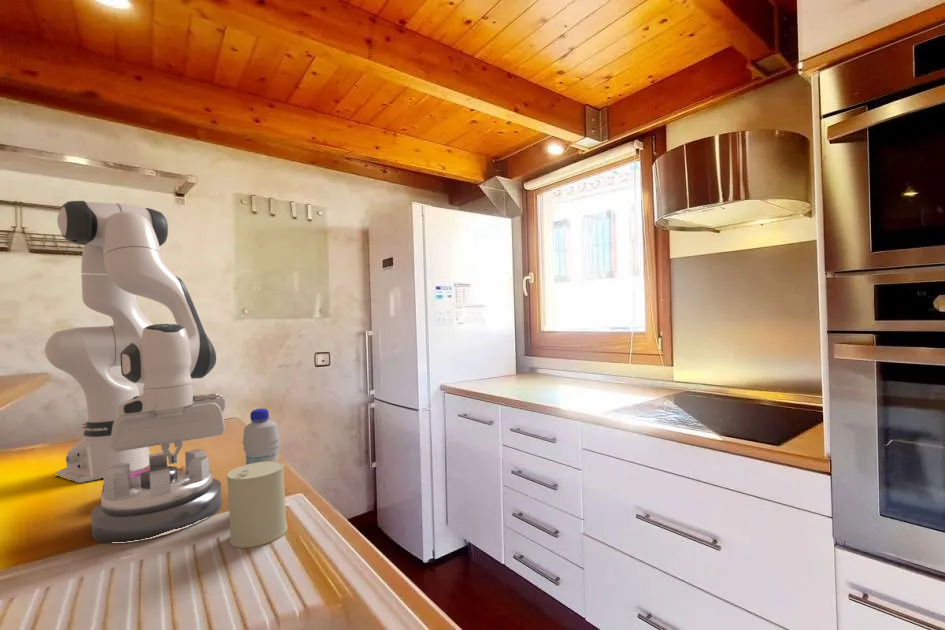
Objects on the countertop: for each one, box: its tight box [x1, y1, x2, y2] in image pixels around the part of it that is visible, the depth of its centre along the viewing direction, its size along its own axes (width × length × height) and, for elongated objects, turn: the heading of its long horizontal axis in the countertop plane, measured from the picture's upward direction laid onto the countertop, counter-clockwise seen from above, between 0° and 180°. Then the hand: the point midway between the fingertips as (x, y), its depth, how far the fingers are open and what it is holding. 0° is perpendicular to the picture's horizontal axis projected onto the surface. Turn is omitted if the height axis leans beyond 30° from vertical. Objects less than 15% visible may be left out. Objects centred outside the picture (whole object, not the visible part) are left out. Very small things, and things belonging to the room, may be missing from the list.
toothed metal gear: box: [100, 448, 213, 516], centre depth 89 cm, size 18×18×6 cm
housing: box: [90, 477, 223, 544], centre depth 89 cm, size 21×21×4 cm
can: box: [226, 461, 288, 549], centre depth 79 cm, size 9×9×12 cm
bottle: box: [242, 408, 280, 465], centre depth 91 cm, size 7×7×20 cm
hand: (173, 463), depth 96 cm, fingers closed
